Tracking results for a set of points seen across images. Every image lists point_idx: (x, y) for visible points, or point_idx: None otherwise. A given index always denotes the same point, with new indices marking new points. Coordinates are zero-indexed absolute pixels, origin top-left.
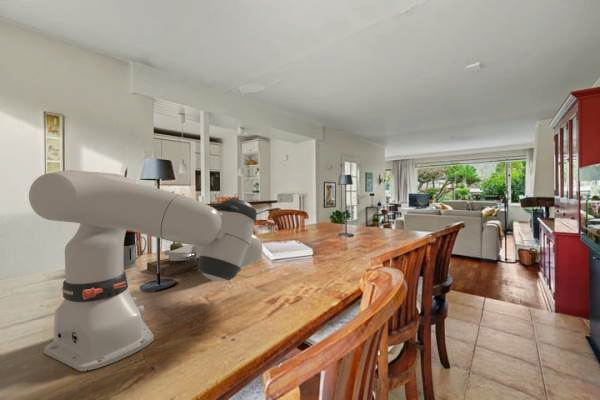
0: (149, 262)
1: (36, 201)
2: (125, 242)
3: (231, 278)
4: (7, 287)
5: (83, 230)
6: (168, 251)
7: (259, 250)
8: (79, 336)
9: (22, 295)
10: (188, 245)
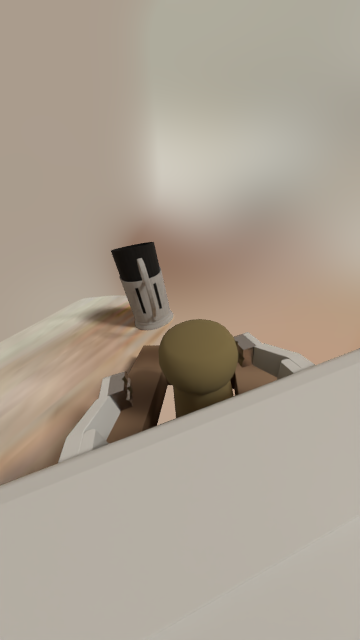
0: (147, 348)
1: None
2: (123, 272)
3: None
4: (51, 315)
5: None
6: (95, 402)
7: None
8: None
9: (3, 346)
10: (274, 411)
